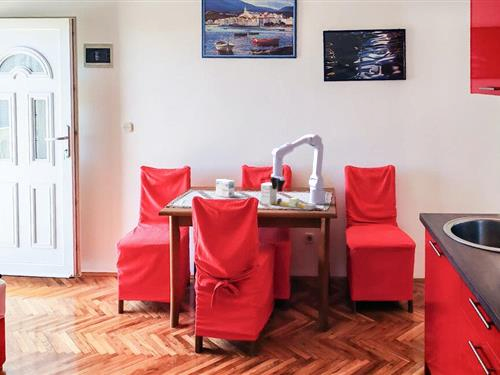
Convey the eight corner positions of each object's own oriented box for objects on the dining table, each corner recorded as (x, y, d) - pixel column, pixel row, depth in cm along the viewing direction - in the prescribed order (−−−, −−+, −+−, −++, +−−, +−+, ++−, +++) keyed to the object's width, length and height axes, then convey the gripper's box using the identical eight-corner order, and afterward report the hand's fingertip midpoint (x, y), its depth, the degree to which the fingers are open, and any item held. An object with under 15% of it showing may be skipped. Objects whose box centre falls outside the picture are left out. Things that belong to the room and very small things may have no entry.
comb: (315, 207, 387) (315, 203, 386) (311, 209, 380) (311, 205, 380) (309, 206, 389) (309, 202, 388) (304, 209, 382) (305, 204, 382)
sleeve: (298, 205, 391) (298, 198, 390) (295, 207, 386) (295, 199, 386) (292, 205, 393) (292, 197, 392) (289, 206, 388) (289, 198, 387)
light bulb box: (234, 196, 420) (234, 180, 418) (228, 197, 414) (228, 181, 412) (221, 194, 425) (221, 178, 423) (215, 195, 420) (215, 179, 418)
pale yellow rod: (311, 207, 386) (311, 202, 385) (309, 208, 383) (309, 203, 382) (276, 203, 397) (276, 198, 396) (273, 204, 394) (273, 198, 393)
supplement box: (267, 201, 403) (267, 182, 401) (276, 203, 398) (277, 183, 396) (260, 203, 397) (260, 183, 395) (269, 205, 392) (270, 185, 390)
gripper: (266, 167, 390) (266, 188, 392) (276, 170, 376) (276, 192, 379) (277, 166, 392) (276, 188, 395) (287, 169, 379) (286, 192, 382)
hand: (277, 190), depth 387 cm, fingers open, 7 cm apart
